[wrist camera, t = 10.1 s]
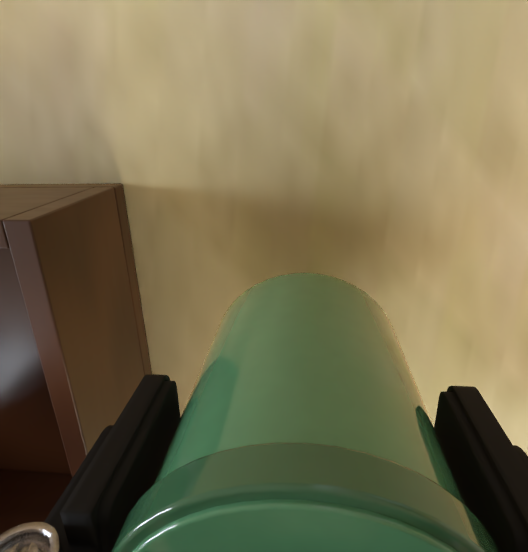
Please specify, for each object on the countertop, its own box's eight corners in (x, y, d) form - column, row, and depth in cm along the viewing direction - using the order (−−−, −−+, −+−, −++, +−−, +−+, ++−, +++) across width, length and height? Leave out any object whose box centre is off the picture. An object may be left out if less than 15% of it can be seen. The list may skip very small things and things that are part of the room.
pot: (201, 264, 13) (52, 478, 5) (414, 267, 12) (590, 514, 5) (215, 428, 15) (126, 735, 8) (393, 437, 14) (488, 781, 7)
